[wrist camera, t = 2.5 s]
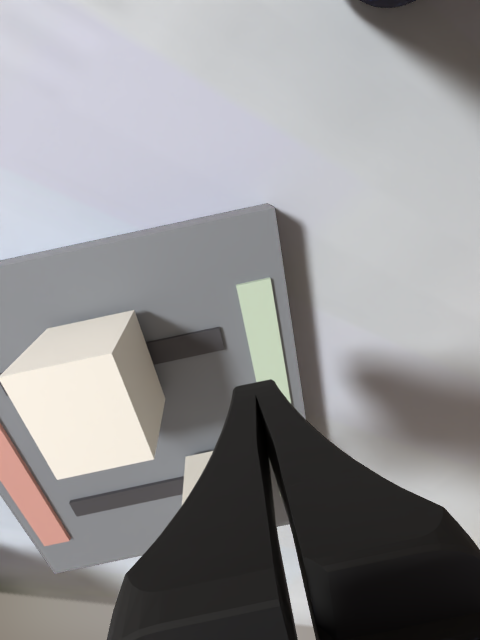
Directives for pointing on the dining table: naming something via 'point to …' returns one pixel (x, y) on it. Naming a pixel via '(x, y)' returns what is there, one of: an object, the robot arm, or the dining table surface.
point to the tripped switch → (89, 395)
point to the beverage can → (387, 3)
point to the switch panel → (169, 362)
